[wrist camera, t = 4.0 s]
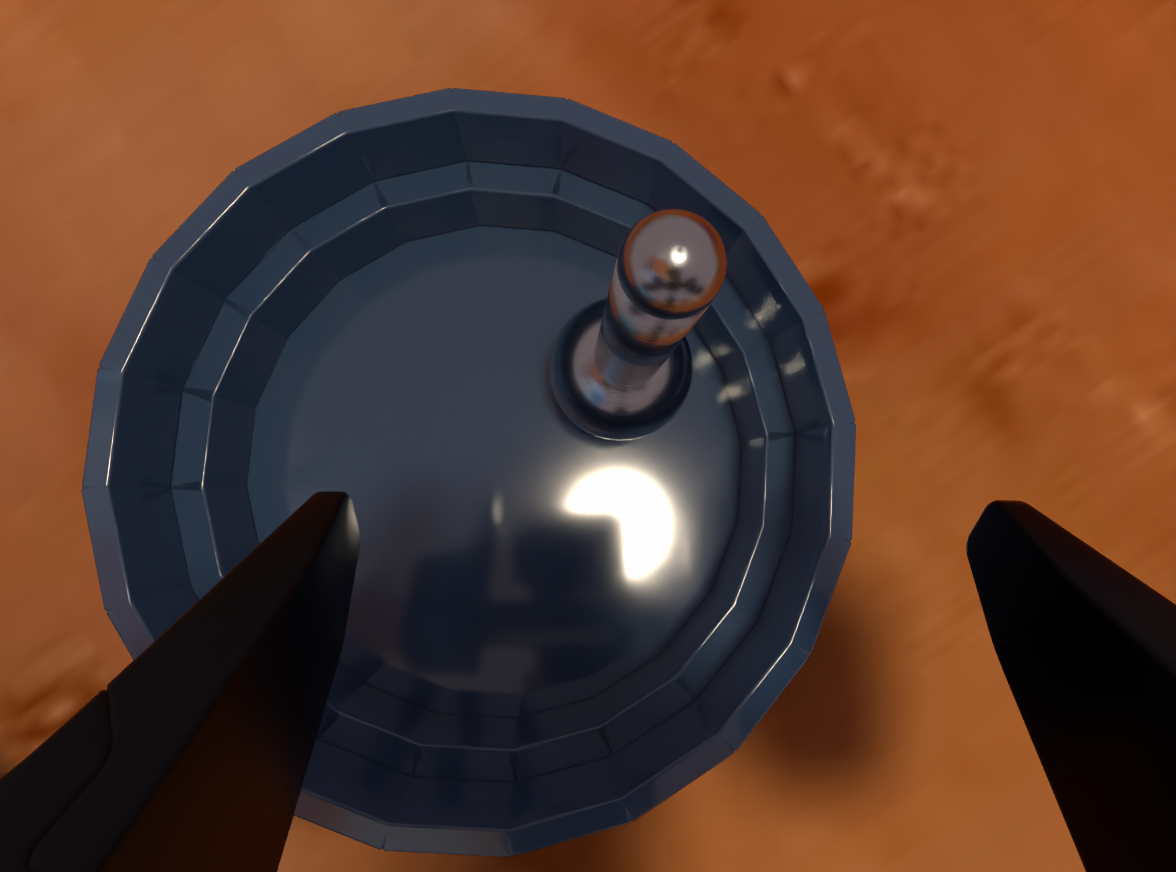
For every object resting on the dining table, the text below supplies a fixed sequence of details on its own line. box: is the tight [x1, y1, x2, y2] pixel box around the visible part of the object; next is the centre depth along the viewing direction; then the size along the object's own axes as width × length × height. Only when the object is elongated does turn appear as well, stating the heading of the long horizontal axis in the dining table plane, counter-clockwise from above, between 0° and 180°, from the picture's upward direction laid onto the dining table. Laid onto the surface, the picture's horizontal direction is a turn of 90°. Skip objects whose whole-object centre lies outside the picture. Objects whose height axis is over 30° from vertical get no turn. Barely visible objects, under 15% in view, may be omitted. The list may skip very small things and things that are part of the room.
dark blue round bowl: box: [82, 88, 856, 857], centre depth 18 cm, size 17×17×6 cm
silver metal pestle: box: [549, 209, 727, 440], centre depth 15 cm, size 4×4×11 cm
